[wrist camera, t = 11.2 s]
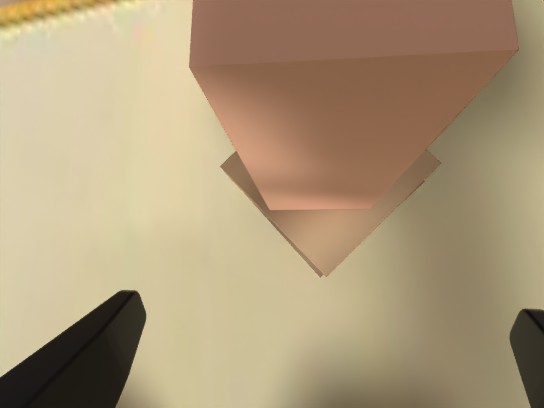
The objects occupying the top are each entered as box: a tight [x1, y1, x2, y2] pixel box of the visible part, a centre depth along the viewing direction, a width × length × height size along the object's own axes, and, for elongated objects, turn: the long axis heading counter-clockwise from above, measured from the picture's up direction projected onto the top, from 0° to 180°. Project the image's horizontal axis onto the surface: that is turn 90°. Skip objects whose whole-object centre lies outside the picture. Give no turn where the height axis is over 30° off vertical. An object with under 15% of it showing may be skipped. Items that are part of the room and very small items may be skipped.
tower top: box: [220, 150, 441, 277], centre depth 19 cm, size 8×8×2 cm
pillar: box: [189, 0, 519, 210], centre depth 12 cm, size 5×5×12 cm
